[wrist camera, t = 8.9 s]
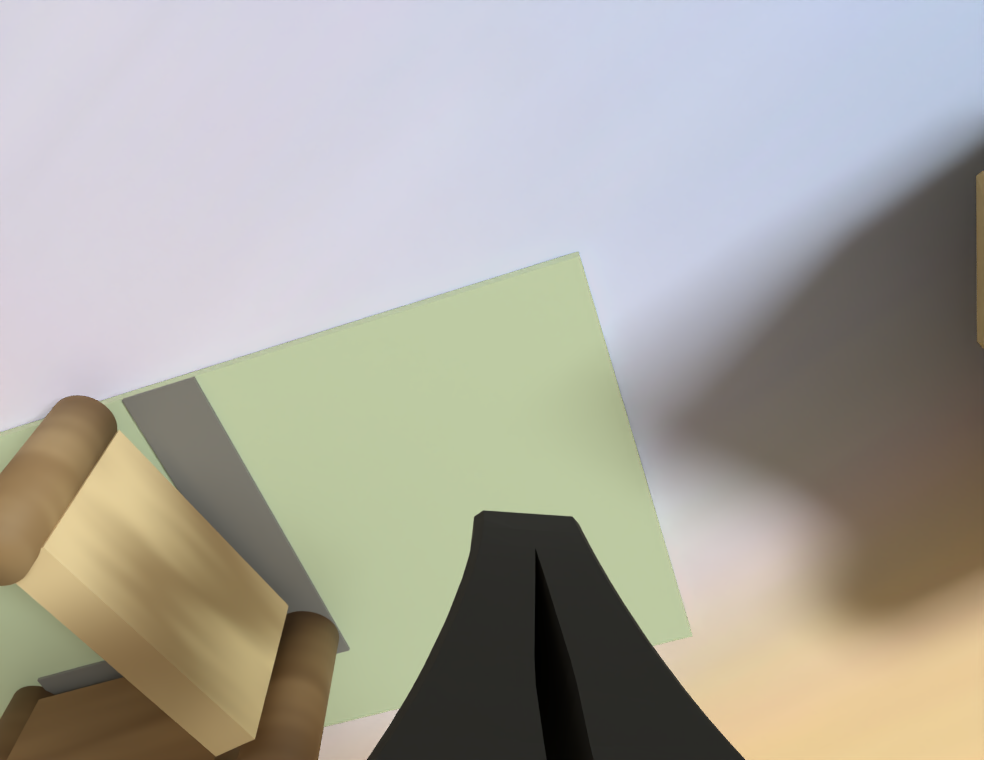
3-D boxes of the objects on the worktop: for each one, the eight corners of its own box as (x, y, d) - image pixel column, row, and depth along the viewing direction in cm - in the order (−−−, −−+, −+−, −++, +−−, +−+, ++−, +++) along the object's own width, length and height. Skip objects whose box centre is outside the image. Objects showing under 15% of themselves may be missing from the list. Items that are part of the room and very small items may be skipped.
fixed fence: (3, 680, 27) (-103, 860, 22) (324, 594, 26) (289, 765, 21) (38, 721, 28) (-55, 902, 23) (350, 640, 27) (323, 815, 22)
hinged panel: (294, 602, 25) (257, 754, 21) (250, 624, 25) (204, 777, 21) (85, 384, 21) (-13, 512, 17) (37, 414, 22) (-71, 545, 17)
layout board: (-202, 495, 24) (-212, 504, 23) (578, 251, 21) (580, 257, 20) (59, 785, 30) (54, 795, 30) (690, 628, 27) (693, 638, 27)
